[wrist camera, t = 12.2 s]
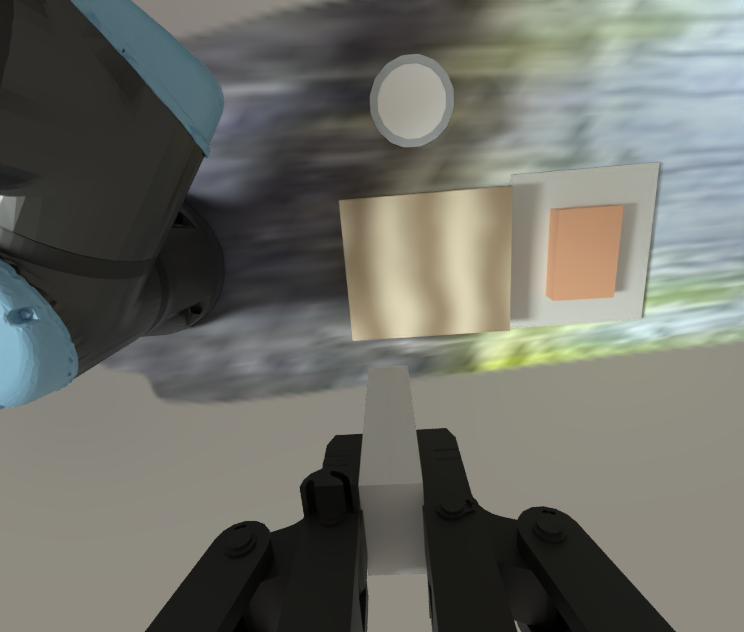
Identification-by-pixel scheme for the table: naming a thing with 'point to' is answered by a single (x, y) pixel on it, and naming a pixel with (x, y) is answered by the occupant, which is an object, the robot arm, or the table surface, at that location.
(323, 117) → the table surface
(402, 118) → the shot glass
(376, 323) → the board
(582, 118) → the table surface
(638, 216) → the grey mat
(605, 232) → the terracotta block
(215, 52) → the table surface
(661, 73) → the table surface
